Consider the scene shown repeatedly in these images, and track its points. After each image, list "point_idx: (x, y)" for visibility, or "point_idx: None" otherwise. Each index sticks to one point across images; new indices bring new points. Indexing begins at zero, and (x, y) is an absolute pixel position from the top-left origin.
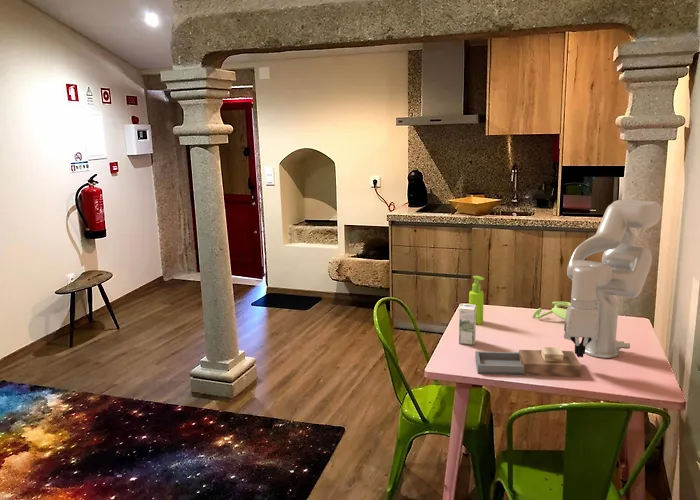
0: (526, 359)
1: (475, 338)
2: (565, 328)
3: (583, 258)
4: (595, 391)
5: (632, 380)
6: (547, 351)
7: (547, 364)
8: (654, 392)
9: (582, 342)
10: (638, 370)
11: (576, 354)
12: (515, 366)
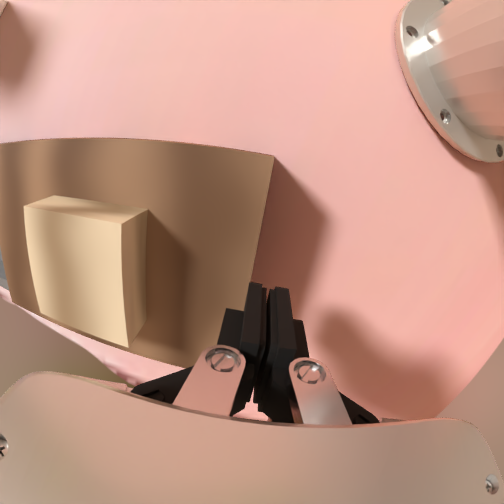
0: (10, 263)
1: (3, 1)
2: (11, 393)
3: None
4: (245, 417)
5: (415, 366)
6: (47, 281)
7: (76, 331)
8: (404, 416)
9: (276, 409)
10: (487, 293)
11: (246, 296)
12: (3, 287)
